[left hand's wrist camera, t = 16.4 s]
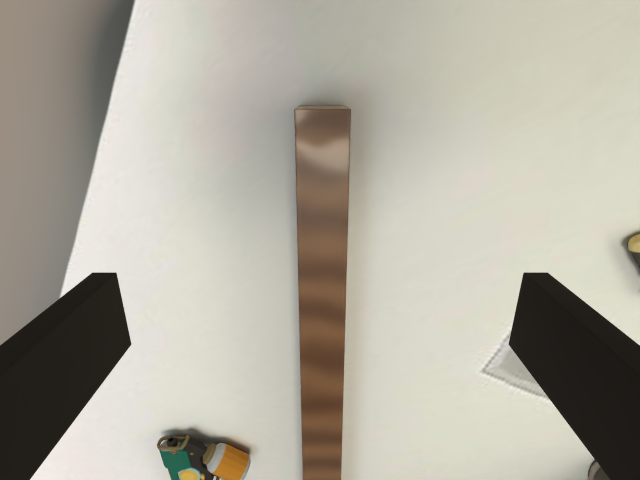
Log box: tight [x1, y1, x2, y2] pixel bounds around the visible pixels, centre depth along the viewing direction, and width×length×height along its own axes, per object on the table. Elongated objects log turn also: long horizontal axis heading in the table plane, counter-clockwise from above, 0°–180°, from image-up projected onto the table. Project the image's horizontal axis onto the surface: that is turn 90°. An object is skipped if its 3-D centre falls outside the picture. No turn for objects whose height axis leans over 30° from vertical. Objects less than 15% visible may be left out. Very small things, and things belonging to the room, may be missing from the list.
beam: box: [295, 106, 351, 480], centre depth 51 cm, size 76×5×8 cm, turn 0°
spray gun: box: [157, 435, 251, 480], centre depth 59 cm, size 4×17×15 cm
